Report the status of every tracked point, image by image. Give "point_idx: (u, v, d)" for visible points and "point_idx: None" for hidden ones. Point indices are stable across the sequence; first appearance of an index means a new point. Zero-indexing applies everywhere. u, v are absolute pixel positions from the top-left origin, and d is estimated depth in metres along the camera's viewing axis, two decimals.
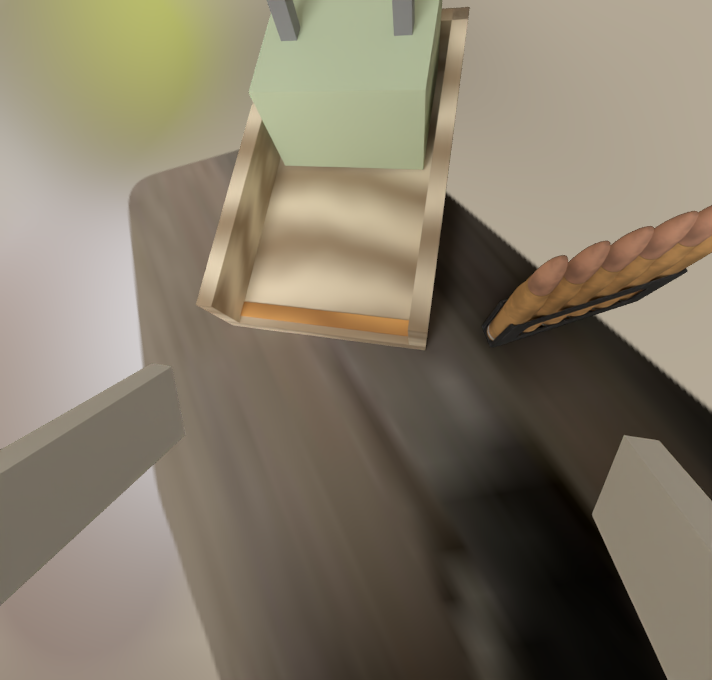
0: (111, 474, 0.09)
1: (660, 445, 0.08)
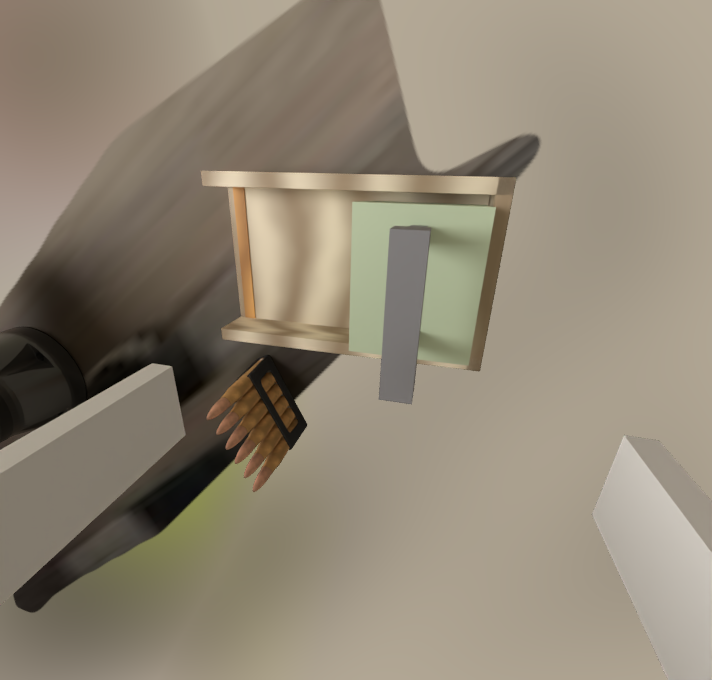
0: (111, 474, 0.09)
1: (660, 445, 0.08)
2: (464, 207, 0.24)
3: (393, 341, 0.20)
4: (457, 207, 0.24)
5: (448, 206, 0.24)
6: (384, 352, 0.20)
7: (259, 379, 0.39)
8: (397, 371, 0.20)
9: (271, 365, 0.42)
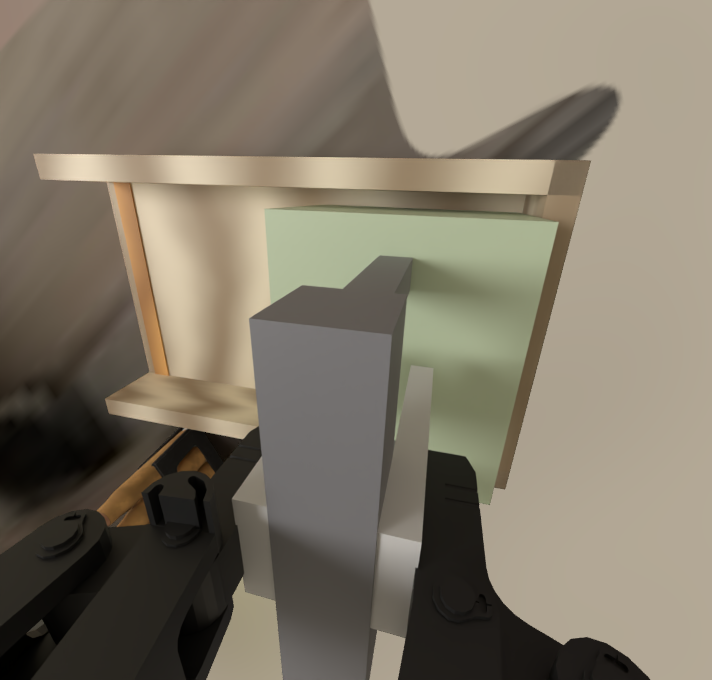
0: None
1: (431, 370, 0.11)
2: (489, 222, 0.11)
3: (304, 604, 0.07)
4: (474, 221, 0.11)
5: (455, 219, 0.12)
6: (284, 619, 0.07)
7: (174, 465, 0.27)
8: (322, 660, 0.08)
9: (199, 437, 0.30)
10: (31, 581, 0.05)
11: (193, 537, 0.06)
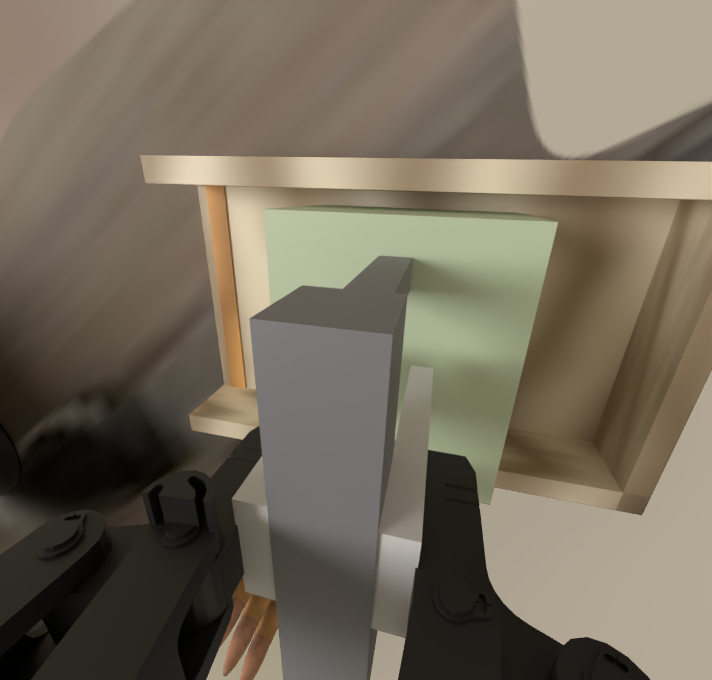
0: None
1: (431, 370, 0.11)
2: (488, 221, 0.11)
3: (304, 605, 0.07)
4: (474, 221, 0.11)
5: (455, 219, 0.12)
6: (284, 620, 0.07)
7: None
8: (322, 661, 0.08)
9: None
10: (31, 581, 0.05)
11: (193, 537, 0.06)
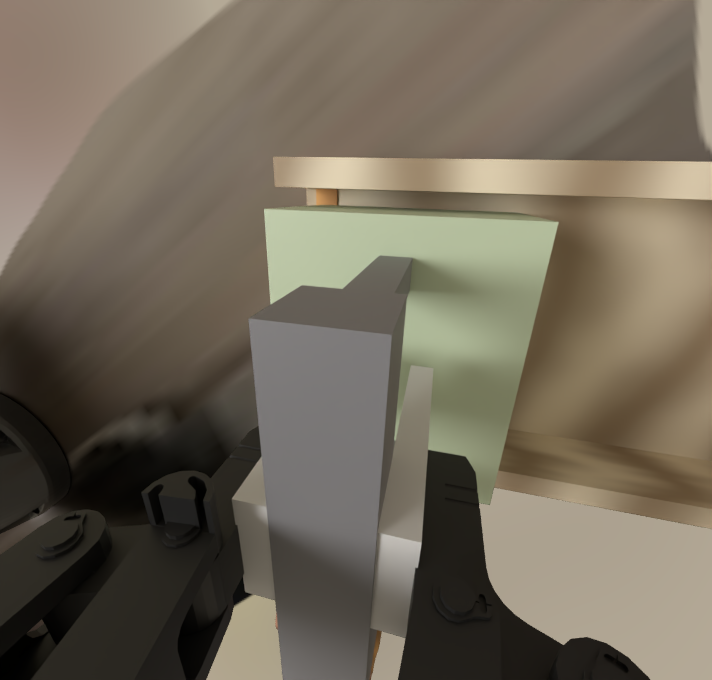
0: None
1: (431, 370, 0.11)
2: (489, 221, 0.11)
3: (304, 605, 0.07)
4: (474, 221, 0.11)
5: (455, 219, 0.12)
6: (283, 619, 0.07)
7: None
8: (322, 661, 0.08)
9: None
10: (31, 581, 0.05)
11: (193, 537, 0.06)
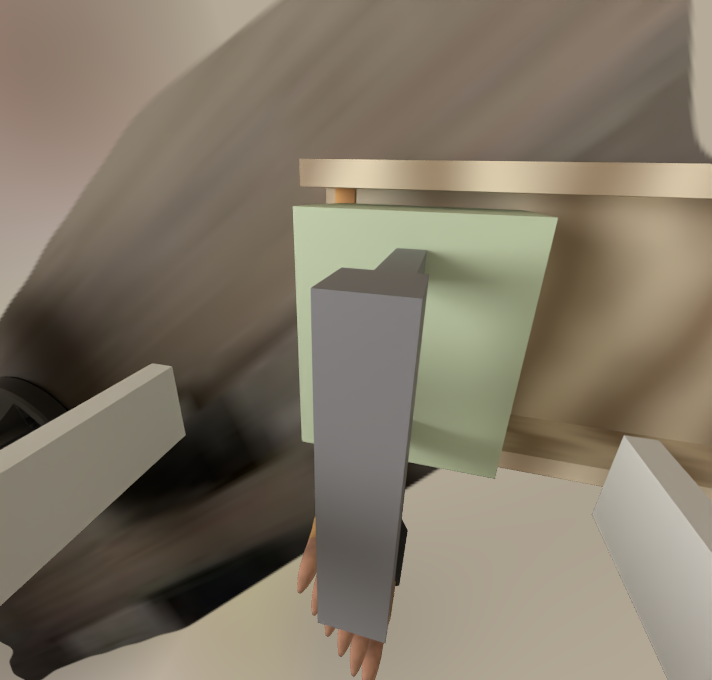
0: (111, 474, 0.09)
1: (660, 445, 0.08)
2: (496, 217, 0.13)
3: (340, 533, 0.09)
4: (482, 217, 0.13)
5: (465, 215, 0.13)
6: (322, 548, 0.09)
7: None
8: (352, 585, 0.09)
9: None
10: None
11: None
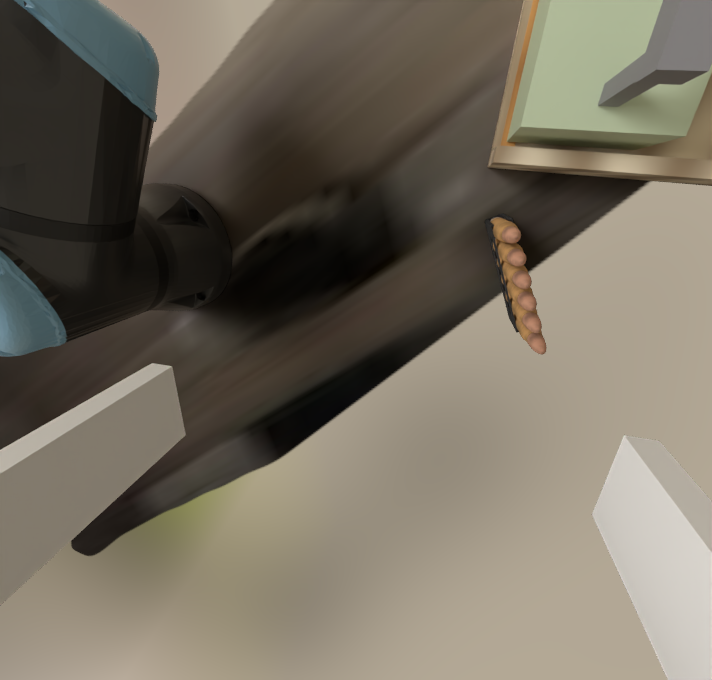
0: (111, 474, 0.09)
1: (660, 445, 0.08)
2: None
3: None
4: None
5: None
6: None
7: None
8: (705, 8, 0.14)
9: None
10: None
11: None
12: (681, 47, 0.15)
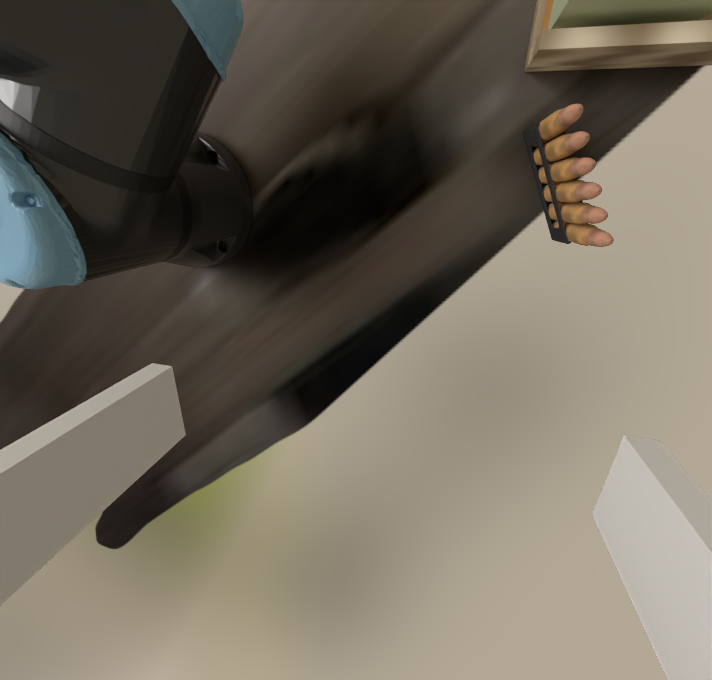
0: (111, 474, 0.09)
1: (660, 445, 0.08)
2: None
3: None
4: None
5: None
6: None
7: None
8: None
9: None
10: None
11: None
12: None
